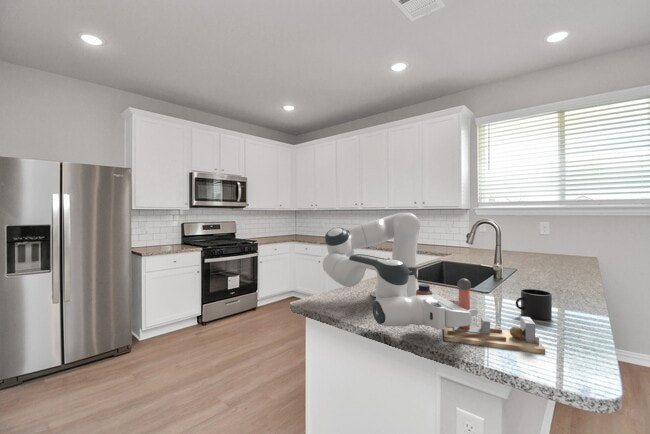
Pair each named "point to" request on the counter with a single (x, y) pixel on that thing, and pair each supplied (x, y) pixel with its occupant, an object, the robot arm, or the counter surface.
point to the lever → (464, 302)
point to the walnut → (516, 332)
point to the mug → (535, 304)
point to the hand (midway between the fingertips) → (466, 307)
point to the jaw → (529, 331)
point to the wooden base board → (492, 339)
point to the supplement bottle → (424, 290)
